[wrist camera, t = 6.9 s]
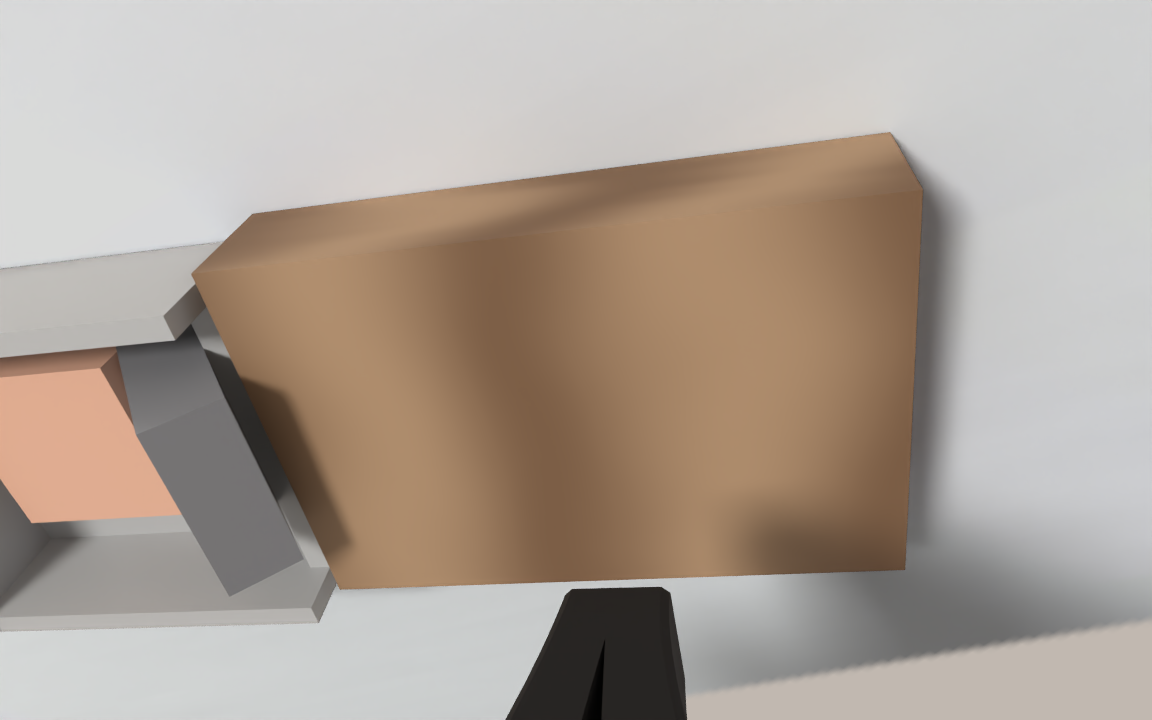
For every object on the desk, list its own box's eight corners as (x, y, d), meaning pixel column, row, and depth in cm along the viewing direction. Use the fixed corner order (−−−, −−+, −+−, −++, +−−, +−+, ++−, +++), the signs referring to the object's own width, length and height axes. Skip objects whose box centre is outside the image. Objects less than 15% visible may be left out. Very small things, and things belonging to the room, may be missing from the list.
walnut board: (890, 132, 14) (922, 189, 12) (881, 484, 19) (905, 569, 17) (252, 213, 17) (190, 273, 15) (374, 511, 21) (340, 589, 19)
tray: (239, 239, 17) (147, 331, 14) (361, 526, 21) (310, 641, 19) (-129, 284, 19) (-276, 374, 16) (54, 541, 23) (-38, 649, 20)
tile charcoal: (224, 397, 15) (135, 434, 14) (304, 559, 17) (229, 597, 16) (189, 316, 18) (115, 344, 17) (259, 461, 20) (196, 491, 19)
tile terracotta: (-68, 384, 18) (-18, 345, 19) (31, 523, 20) (70, 479, 21) (99, 368, 17) (140, 328, 18) (184, 514, 19) (215, 470, 20)
